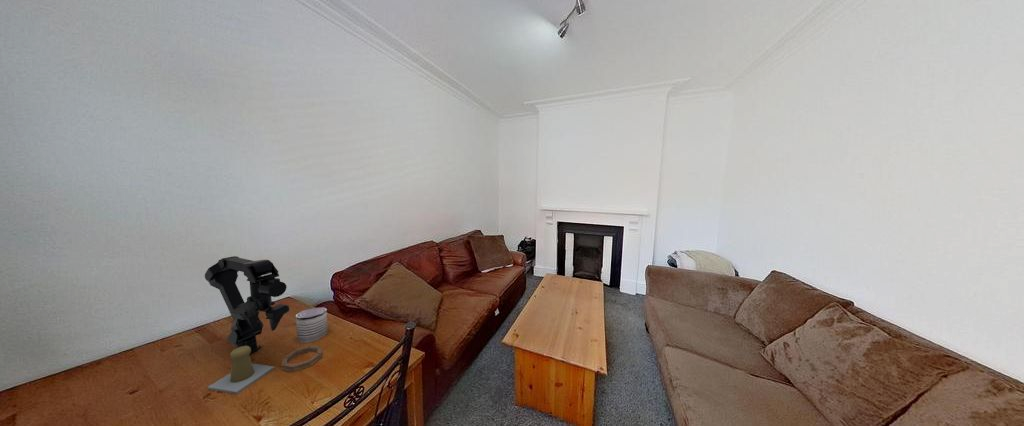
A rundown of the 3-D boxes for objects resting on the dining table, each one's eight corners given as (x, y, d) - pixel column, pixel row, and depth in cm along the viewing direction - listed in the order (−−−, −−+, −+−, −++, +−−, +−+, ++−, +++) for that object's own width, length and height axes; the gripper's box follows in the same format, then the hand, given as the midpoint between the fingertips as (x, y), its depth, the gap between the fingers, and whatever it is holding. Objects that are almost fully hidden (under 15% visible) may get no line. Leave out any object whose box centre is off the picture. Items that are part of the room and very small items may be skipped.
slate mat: (207, 389, 86) (207, 386, 86) (248, 364, 98) (247, 362, 98) (236, 394, 84) (236, 391, 84) (274, 368, 96) (274, 366, 96)
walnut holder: (273, 368, 96) (273, 364, 96) (303, 348, 108) (303, 344, 108) (301, 373, 95) (301, 368, 94) (329, 351, 107) (329, 347, 107)
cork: (238, 384, 87) (235, 355, 86) (225, 380, 89) (222, 352, 87) (258, 371, 93) (256, 344, 92) (246, 368, 95) (244, 342, 93)
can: (291, 344, 111) (289, 318, 109) (305, 329, 122) (304, 306, 120) (320, 341, 113) (319, 316, 112) (331, 327, 124) (331, 304, 123)
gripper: (214, 299, 91) (218, 338, 93) (258, 304, 89) (261, 344, 91) (249, 286, 102) (252, 322, 104) (289, 291, 100) (291, 327, 102)
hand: (263, 328), depth 100 cm, fingers open, 9 cm apart
